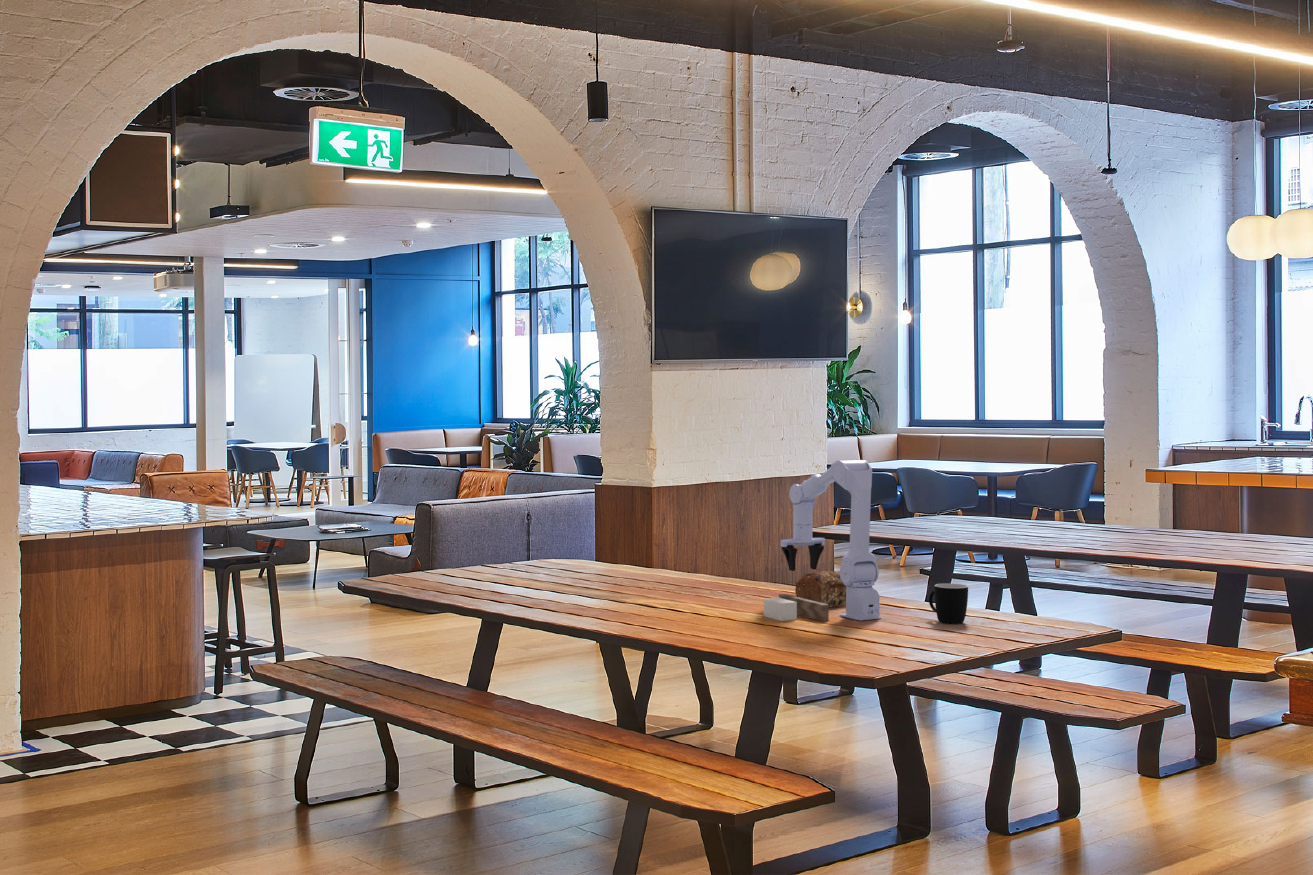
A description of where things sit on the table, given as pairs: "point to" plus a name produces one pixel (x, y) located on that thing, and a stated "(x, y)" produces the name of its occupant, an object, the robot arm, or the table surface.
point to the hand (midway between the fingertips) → (802, 569)
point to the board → (809, 607)
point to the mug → (950, 602)
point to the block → (780, 609)
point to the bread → (822, 588)
